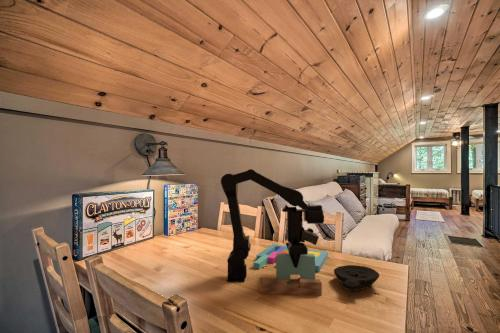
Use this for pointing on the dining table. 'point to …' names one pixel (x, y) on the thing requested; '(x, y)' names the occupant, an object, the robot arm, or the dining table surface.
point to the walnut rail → (290, 287)
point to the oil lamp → (356, 276)
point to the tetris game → (268, 257)
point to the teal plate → (287, 268)
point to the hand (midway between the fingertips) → (295, 265)
